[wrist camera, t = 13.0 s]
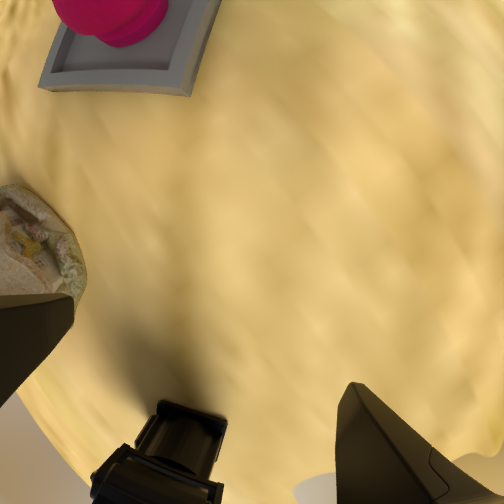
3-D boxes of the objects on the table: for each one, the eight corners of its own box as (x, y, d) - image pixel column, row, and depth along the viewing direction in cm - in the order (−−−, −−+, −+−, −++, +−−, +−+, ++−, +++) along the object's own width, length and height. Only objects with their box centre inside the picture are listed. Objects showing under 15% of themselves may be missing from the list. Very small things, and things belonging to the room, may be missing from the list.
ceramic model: (111, 275, 23) (25, 322, 13) (60, 344, 26) (-4, 393, 16) (27, 164, 22) (-56, 166, 13) (-9, 245, 25) (-76, 265, 15)
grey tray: (238, -42, 16) (233, -57, 14) (190, 96, 19) (179, 87, 17) (103, -29, 17) (92, -39, 15) (53, 91, 21) (37, 87, 18)
